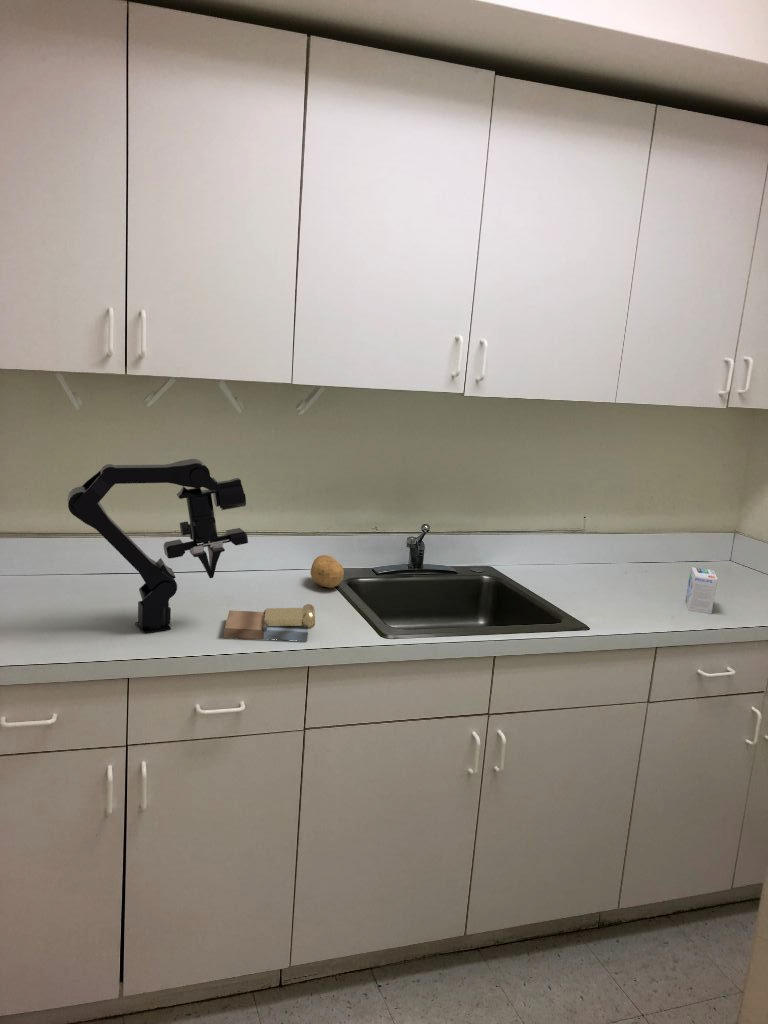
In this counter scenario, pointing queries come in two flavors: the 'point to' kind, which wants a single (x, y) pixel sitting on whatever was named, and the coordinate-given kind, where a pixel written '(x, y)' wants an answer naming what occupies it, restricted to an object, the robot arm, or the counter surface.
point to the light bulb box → (701, 590)
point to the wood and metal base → (259, 627)
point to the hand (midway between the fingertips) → (211, 577)
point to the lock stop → (291, 616)
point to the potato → (327, 571)
